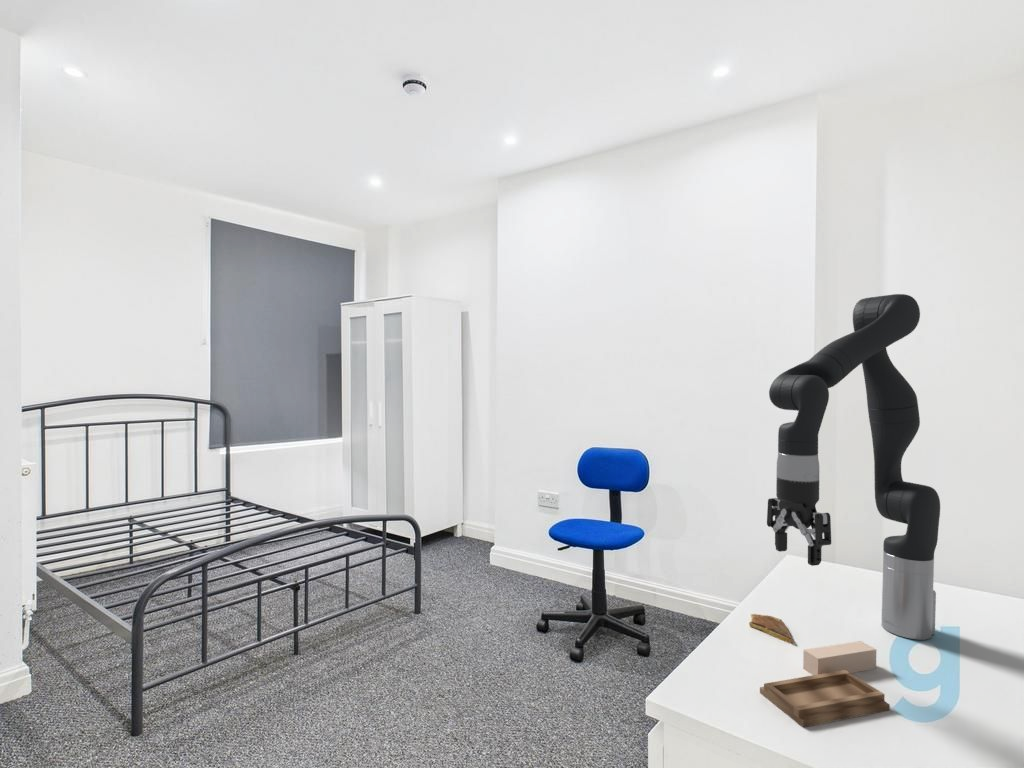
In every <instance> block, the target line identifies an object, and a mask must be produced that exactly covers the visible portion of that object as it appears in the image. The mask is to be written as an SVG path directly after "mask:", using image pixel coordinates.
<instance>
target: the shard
mask: <svg viewBox="0 0 1024 768" xmlns="http://www.w3.org/2000/svg"><path fill="white" fill-rule="evenodd" d="M750 617H751V619H750V620H751V621H750V622H749V623H748V624H749V628H752V629H756V630H759V631H762V632H764V633H765V634H768V635H769V636H772V637H773V638H776V639H779V640H781V641H784V642H786V643H789V644H793V641H794V639H793V637H792V635H791V634H790V632H789V630H788V628H787V626H786V623H785V622H784V621H783V620H782V619H780V618H779V617H775V616H772V615H768V614H767V615H766V614H765V615H764V614H757V613H756V614H755V613H753V614H750Z"/></svg>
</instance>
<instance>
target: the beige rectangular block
mask: <svg viewBox="0 0 1024 768" xmlns="http://www.w3.org/2000/svg"><path fill="white" fill-rule="evenodd" d="M802 661H803V666H802V667H803V670H805V671H806V672H808V673H809V674H811V676H812V675H818V674H824V673H830V672H836V671H842V670H846V671H848V672H849V673H851V674H852V673H857V672H863V671H869V670H875V669H877V649H876V648H875V647H873V646H871V645H869V644H867V643H865V642H864V641H862V640H859V641H858V640H857V641H853V642H845V643H837V644H832V645H827V646H819V647H812V648H806V649H803V660H802Z"/></svg>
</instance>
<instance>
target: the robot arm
mask: <svg viewBox="0 0 1024 768" xmlns="http://www.w3.org/2000/svg"><path fill="white" fill-rule="evenodd" d="M920 318H921V310H920V306H919V304H918V302H917V300H916V299H915V298H914V297H913V296H911V295H908V294H905V293H903V294H902V293H896V294H895V293H894V294H887V295H879V296H871V297H865V298H861V299H860V300H859V301H857V302H856V303H855V305H854V307H853V311H852V325H853V326H852V327H853V332H851V333H849V334H846V335H844V336H842V337H839V338H838V339H835V340H833V341H832V342H830V343H828V344H826V345H825V346H824V347H823V348H821V349H820V350H819V351H818V352H817V353H815V354H814V355H813V356H812V357H810V359H808V360H806V361H804V362H802V363H800V364H797V365H795V366H793V367H791V368H789V369H787V370H786V371H783V372H782V373H780V374H779V375H778V376H777V377H776V378H775V379H774V380H773V381H772V383H771V384H770V386H769V390H768V394H769V400H770V402H771V403H772V404H773V405H774V407H776V408H779V409H781V410H785V411H798V412H797V415H796V418H795V419H794V421H789V422H785V423H782V424H781V425H780V426H779V427H778V433H777V434H778V435H777V436H778V437H777V438H778V439H777V459H776V497H772V498H768V500H767V509H766V510H767V513H766V514H767V515H766V517H767V518H766V526H768V527H769V528H770V527H771V529H772V531H773V532H774V545H775V550H776V552H778V553H779V552H786V551H787V550H788V532H787V531H788V529H789V528H790V527H793V528H794V529H797V530H799V531H800V534H801V535H802V536H804V538H805V539H806V541H807V543H808V545H807V563H808V565H810V566H811V567H813V566H819V565H820V564H821V562H822V547H823V546H831V545H832V528H831V527H832V523H831V514H830V512H818V511H817V509H816V504H817V503H818V502H819V501H820V461H819V433H820V429H821V426H822V423H823V419H824V416H825V413H826V410H827V407H828V404H829V398H830V391H829V390H830V388H833V387H835V386H836V385H838V384H839V383H840V382H841V381H842V380H844V379H845V378H846V377H847V376H848V375H850V374H851V372H853V371H854V370H855V369H856V368H857V367H858V366H860V365H862V372H863V377H864V385H865V392H866V404H867V405H866V406H867V411H868V412H867V413H868V421H869V425H870V431H871V439H872V440H871V441H872V449H873V460H874V461H873V462H874V499H875V500H874V501H875V505H876V509H877V511H878V513H879V514H880V516H882V517H883V518H885V519H886V520H890V521H893V522H897V523H902V524H905V525H906V526H907V527H906V531H905V534H900V535H890V536H887V537H885V538H884V540H883V545H882V547H883V550H882V552H883V554H882V555H883V556H882V587H881V588H882V589H881V590H882V592H881V593H882V594H881V595H882V596H881V627H882V628H883V629H885V630H886V631H887V632H889V633H891V634H893V635H896V636H899V637H903V638H906V639H912V640H918V641H919V640H920V641H921V640H929V639H931V638H932V636H933V635H935V634H936V608H937V607H936V602H937V600H936V599H937V592H936V591H935V590H934V578H935V577H934V575H935V574H934V573H935V572H934V568H935V567H934V566H935V565H934V564H935V550H936V548H937V544H938V539H939V526H940V517H941V499H940V496H939V493H938V492H937V491H936V489H934V488H933V487H932V486H929V485H924V484H920V483H914V482H908V481H904V480H903V476H902V460H903V456H904V454H905V452H907V449H908V448H909V446H910V445H911V443H912V442H913V440H914V439H915V437H916V435H917V433H918V431H919V428H920V424H921V421H920V420H921V419H920V410H919V409H920V408H919V401H918V397H917V393H916V392H915V390H914V388H913V387H912V385H911V384H910V383H909V381H908V380H907V379H906V378H905V377H904V376H903V375H902V374H901V372H900V371H899V370H898V369H897V368H896V366H895V365H894V363H893V362H892V360H891V358H890V357H889V354H888V351H887V348H888V347H889V346H891V345H893V344H894V343H896V342H898V341H900V340H902V339H904V338H905V337H907V336H909V335H910V334H911V333H913V331H915V329H916V328H917V327H918V325H919V322H920ZM810 527H811V528H810Z"/></svg>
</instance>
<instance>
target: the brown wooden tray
mask: <svg viewBox="0 0 1024 768" xmlns="http://www.w3.org/2000/svg"><path fill="white" fill-rule="evenodd" d="M759 694H761V695H762V696H763V697H764V698H766V699H767V700H768V701H770V702H771V703H772V704H773V705H774V706H776V707H777V708H778V709H779V710H781V711H782V712H783V713H784V714H786V715H787V716H788V717H789V718H791V719H792V720H793V721H794V722H795V723H797V724H798V725H799V726H801V727H802V728H807V727H811V726H816V725H821V724H826V723H831V722H836V721H841V720H847V719H852V718H857V717H861V716H866V715H871V714H876V713H882V712H887V711H890V710H891V709H890V708H891V706H890V703H888V702H887V701H885V693H884V692H882V691H880V690H879V689H877V688H875V687H873V686H872V685H870V684H869V683H867V682H866V681H864V680H862V679H861V678H860V677H857V676H856V675H854V674H852V673H849V672H848V671H846V670H842V671H836V672H830V673H824V674H818V675H812V674H811V675H806V676H802V677H801V676H800V677H793V678H789V679H784V680H778V681H772V682H766V683H764V684H763V686H759Z"/></svg>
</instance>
